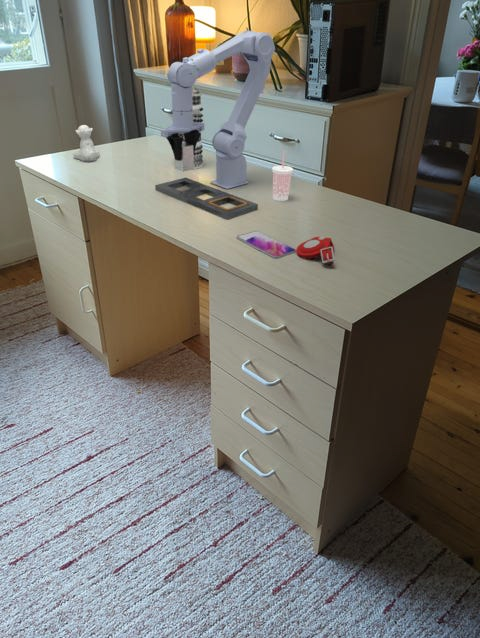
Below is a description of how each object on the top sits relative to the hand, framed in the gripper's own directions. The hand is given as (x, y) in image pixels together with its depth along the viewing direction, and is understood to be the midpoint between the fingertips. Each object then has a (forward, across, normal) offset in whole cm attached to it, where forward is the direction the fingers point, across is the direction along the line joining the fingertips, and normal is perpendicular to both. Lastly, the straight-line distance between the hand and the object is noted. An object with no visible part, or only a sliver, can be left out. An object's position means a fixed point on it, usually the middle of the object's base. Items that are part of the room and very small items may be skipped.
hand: (184, 158), depth 153 cm
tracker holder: (+10, +6, +56) cm, 57 cm away
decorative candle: (+10, -19, -20) cm, 29 cm away
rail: (+10, 0, +9) cm, 14 cm away
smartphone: (+11, +10, +43) cm, 45 cm away
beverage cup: (+10, -18, +23) cm, 31 cm away
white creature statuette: (+10, +4, -49) cm, 50 cm away
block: (+3, 0, 0) cm, 3 cm away
